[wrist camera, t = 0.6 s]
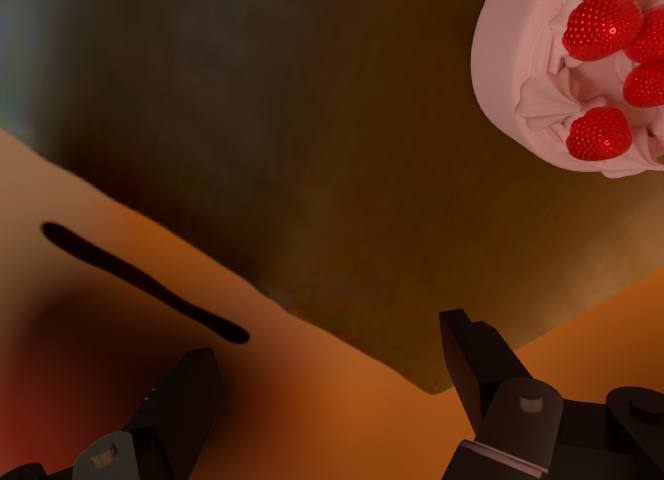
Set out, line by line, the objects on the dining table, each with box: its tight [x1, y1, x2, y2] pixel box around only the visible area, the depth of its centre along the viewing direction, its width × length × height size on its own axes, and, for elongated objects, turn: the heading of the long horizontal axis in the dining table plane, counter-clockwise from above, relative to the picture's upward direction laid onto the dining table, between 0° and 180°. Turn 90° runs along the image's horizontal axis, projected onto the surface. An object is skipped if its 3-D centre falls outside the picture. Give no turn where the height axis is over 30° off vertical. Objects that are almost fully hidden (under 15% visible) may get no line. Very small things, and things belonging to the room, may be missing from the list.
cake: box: [471, 0, 664, 178], centre depth 28 cm, size 20×20×14 cm
